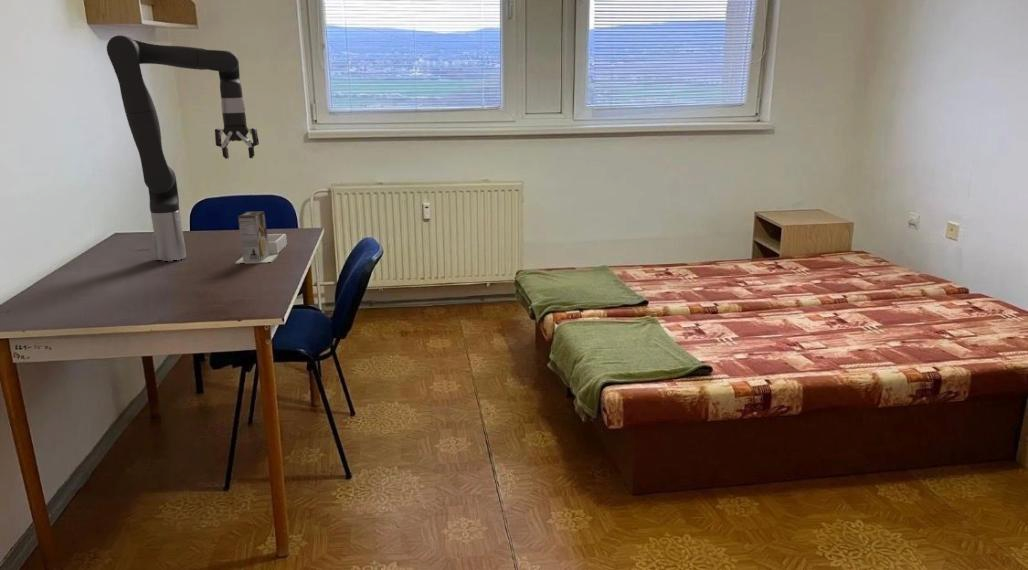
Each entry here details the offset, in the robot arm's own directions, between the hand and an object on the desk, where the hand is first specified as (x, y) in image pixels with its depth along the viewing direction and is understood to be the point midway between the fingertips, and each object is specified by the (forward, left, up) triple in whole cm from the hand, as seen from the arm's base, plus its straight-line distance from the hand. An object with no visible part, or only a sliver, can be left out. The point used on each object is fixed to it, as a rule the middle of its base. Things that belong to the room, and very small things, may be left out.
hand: (239, 158), depth 258 cm
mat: (+6, -12, -34) cm, 37 cm away
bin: (+6, +2, -34) cm, 35 cm away
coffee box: (+6, -12, -34) cm, 36 cm away
